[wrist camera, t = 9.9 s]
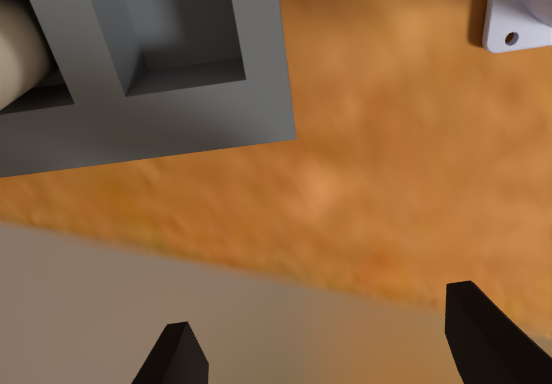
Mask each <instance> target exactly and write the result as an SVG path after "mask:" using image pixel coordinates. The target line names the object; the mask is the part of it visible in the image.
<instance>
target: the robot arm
mask: <svg viewBox="0 0 552 384" xmlns="http://www.w3.org/2000/svg"><path fill="white" fill-rule="evenodd" d="M511 32H513V33H514V36H513V39H512V40H511V41H510V42H508V43H505V38H506V36H507V35H508V34H509V33H511ZM482 44H483V47H484V48H485V49H486V50H488V51H489V52H491V53H501V52H508V51H515V50H522V49H529V48H536V47H543V46H551V45H552V0H488V2H487V10H486V17H485V24H484V32H483V39H482ZM445 335H446V338H447V340H448V344H449V346H450V349H451V352H452V355H453V358H454V361H455V364H456V366H457V369H458V372H459V374H460V376H461V378H462V380H463V382H464V384H552V358H551V357H550V356H549V355H548V354H547V353H546V352H544V351H543V350H542V349H541V348H540V347H539V346H538V345H537V344H536V343H535V342H534V341H533V340H531V339H530V338H529V337H528V336H527V335H526V334H525V333H524V332H523V331H522V330H521V329H520V328H519V327H517V326H516V325H515V324H514V323H513V322H512V321H511V320H510V319H509V318H508V317H507V316H506V315H505V314H504V313H503V312H502V311H501V310H500V309H499V308H498V307H497V306H496V305H495V304H494V303H493V302H492V301H491V300H490V299H489V298H488V297H487V296H486V295H485V294H484V293H483V292H482V291H481V290H480V289H479V287H478V286H477V285H476V284H475V283H473V282H472V281H463V282H456V283H449V284H447V288H446V313H445ZM208 369H209V363H208V361H207V360H206V358H205V356H204V353H203V351H202V349H201V347H200V345H199V343H198V341H197V339H196V337H195V335H194V333H193V331H192V329H191V327H190V325H189V323H188V321H187V322H180V323H174V324H167V326H166V327H165V328H164V330H163V332H162V333H161V335H160V337H159V339H158V340H157V342H156V344H155V346H154V347H153V349H152V350H151V352H150V354H149V355H148V357H147V359H146V360H145V362H144V364H143V365H142V367H141V369H140V370H139V372H138V374H137V376H136V377H135V379H134V380H133V382H132V383H131V384H208V371H209V370H208Z"/></svg>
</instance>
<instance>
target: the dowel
mask: <svg viewBox="0 0 552 384" xmlns="http://www.w3.org/2000/svg"><path fill="white" fill-rule="evenodd" d="M58 69H59V66H58V64H57V62H56V60H55V57H54V55H53V53H52V50H51V48H50V46H49V43H48V41H47V39H46V37H45V34H44V32H43V30H42V27H41V25H40V23H39V20H38V18H37V16H36V14H35V11H34V9H33V7H32V4H31V2H30V0H0V110H1V109H3V108H4V107H6V106H7V105H8V104H10V103H11V102H13V101H14V100H16V99H17V98H18V97H20V96H21V95H23V94H24V93H25V92H27V91H28V90H30V89H31V88H33V87H34V86H35V85H37V84H38V83H40V82H41V81H42V80H44V79H45V78H47V77H48V76H50V75H51V74H52V73H54V72H55V71H57V70H58Z"/></svg>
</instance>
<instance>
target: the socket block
mask: <svg viewBox="0 0 552 384" xmlns="http://www.w3.org/2000/svg"><path fill="white" fill-rule="evenodd" d="M30 2H31V4H32V7H33V9H34V11H35V14H36V16H37V18H38V20H39V23H40V25H41V27H42V30H43V32H44V34H45V37H46V39H47V41H48V43H49V46H50V48H51V50H52V53H53V55H54V57H55V60H56V62H57V64H58V66H59V69H58V70H57V71H55V72H54V73H52V74H51V75H50V76H48V77H47V78H45V79H44V80H42V81H41V82H40V83H38V84H37V85H35V86H34V87H33V88H31V89H30V90H28V91H27V92H25V93H24V94H23V95H21V96H20V97H18V98H17V99H16V100H14V101H13V102H11V103H10V104H8V105H7V106H6V107H4V108H3V109H1V110H0V178H1V177H9V176H17V175H24V174H32V173H40V172H47V171H55V170H63V169H70V168H78V167H86V166H93V165H101V164H109V163H116V162H124V161H132V160H139V159H147V158H155V157H163V156H170V155H178V154H186V153H193V152H201V151H209V150H216V149H224V148H232V147H239V146H247V145H255V144H262V143H270V142H278V141H285V140H293V139H296V134H295V125H294V116H293V107H292V98H291V90H290V82H289V74H288V66H287V58H286V50H285V42H284V33H283V25H282V17H281V9H280V1H279V0H30Z"/></svg>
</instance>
